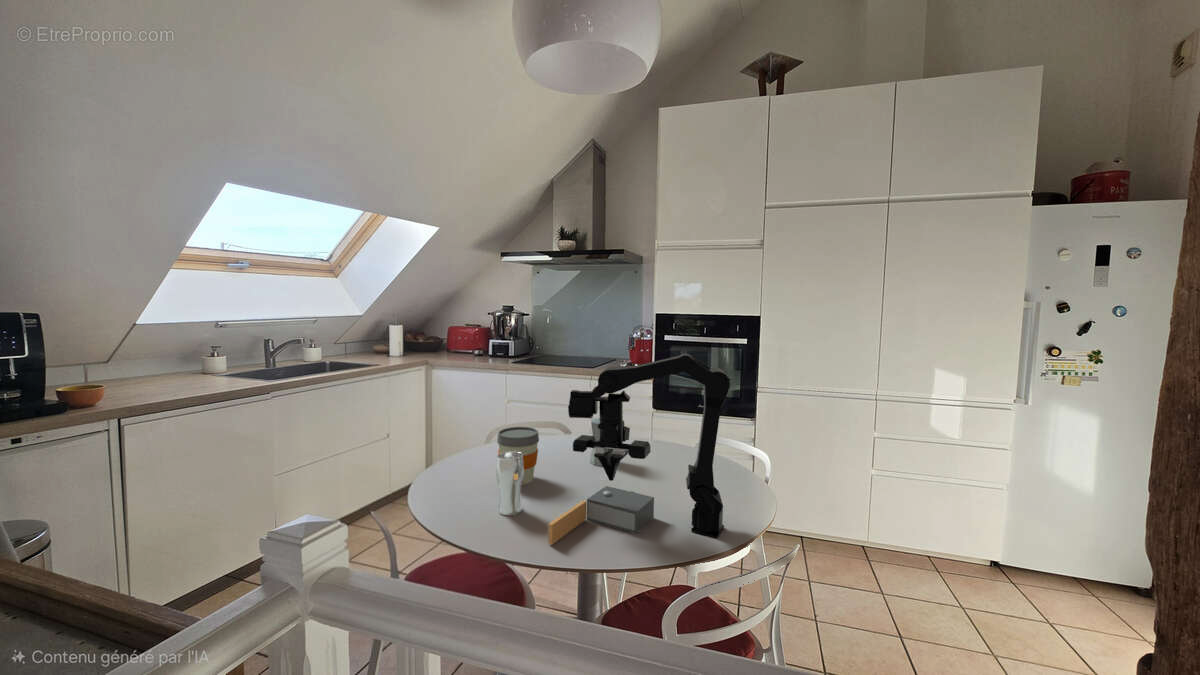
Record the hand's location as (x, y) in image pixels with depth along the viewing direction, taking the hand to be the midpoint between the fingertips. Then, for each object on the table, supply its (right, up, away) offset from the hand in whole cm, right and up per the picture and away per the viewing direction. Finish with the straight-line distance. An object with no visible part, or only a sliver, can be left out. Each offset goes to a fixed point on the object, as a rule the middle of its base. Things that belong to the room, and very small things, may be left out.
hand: (611, 480), depth 122 cm
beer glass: (-27, -10, +7) cm, 29 cm away
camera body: (+2, -11, +3) cm, 11 cm away
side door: (-11, -11, -4) cm, 16 cm away
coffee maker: (-2, -7, +44) cm, 45 cm away
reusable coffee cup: (-28, -8, +28) cm, 41 cm away
